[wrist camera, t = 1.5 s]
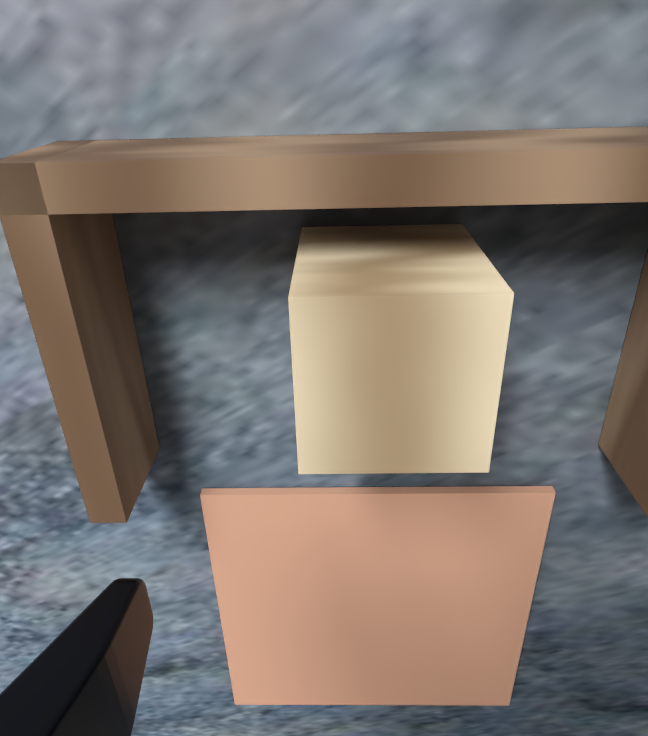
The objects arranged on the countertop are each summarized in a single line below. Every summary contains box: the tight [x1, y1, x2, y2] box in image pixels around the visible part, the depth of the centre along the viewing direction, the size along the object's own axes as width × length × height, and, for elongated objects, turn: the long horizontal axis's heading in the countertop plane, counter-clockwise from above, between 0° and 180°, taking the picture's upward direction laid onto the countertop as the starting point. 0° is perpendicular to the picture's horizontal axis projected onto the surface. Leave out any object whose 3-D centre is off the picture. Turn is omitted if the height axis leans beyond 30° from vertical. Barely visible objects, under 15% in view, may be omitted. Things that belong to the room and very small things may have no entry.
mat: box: [200, 486, 556, 705], centre depth 26 cm, size 14×14×1 cm
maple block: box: [288, 224, 514, 474], centre depth 17 cm, size 5×5×6 cm
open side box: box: [0, 127, 648, 523], centre depth 17 cm, size 19×11×4 cm, turn 91°
